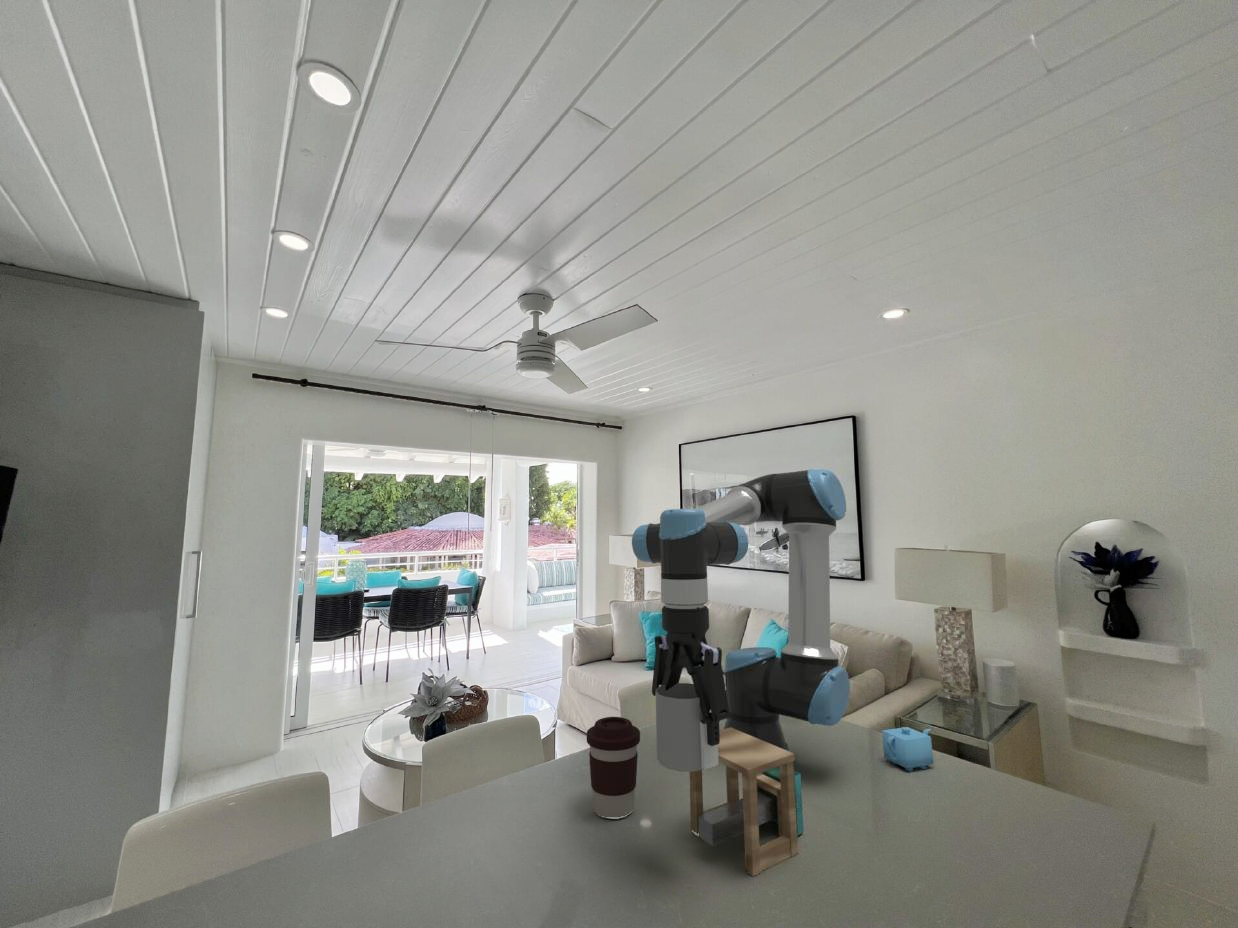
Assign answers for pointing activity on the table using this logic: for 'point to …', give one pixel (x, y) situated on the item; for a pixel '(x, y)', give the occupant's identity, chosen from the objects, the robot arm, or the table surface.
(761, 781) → the wooden stool
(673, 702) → the cup
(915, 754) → the teapot
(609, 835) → the table surface
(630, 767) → the coffee cup
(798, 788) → the grey and teal block
